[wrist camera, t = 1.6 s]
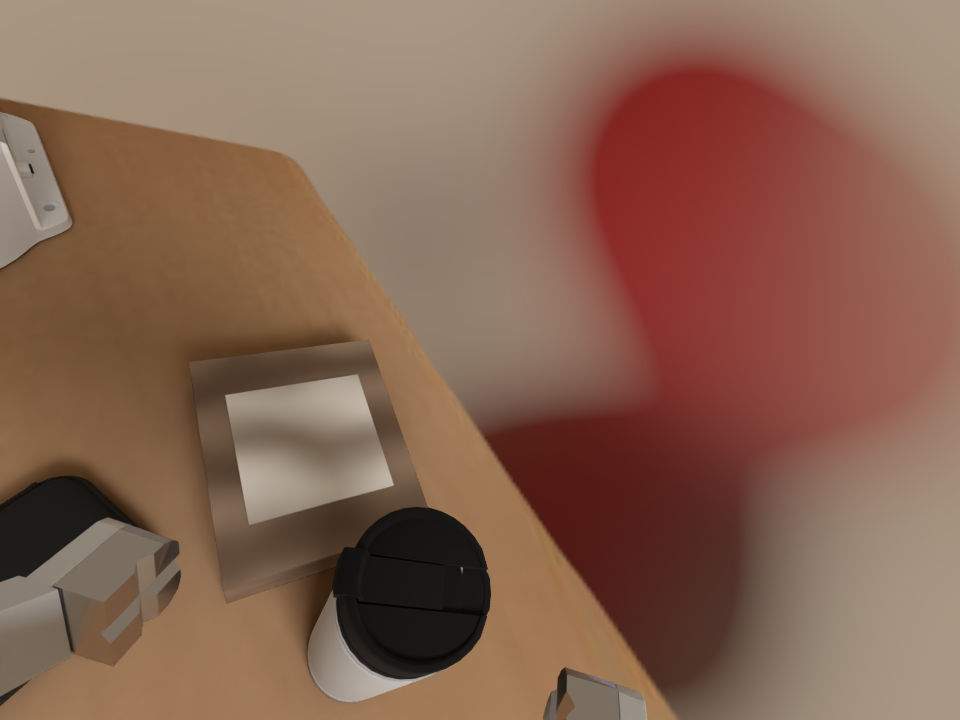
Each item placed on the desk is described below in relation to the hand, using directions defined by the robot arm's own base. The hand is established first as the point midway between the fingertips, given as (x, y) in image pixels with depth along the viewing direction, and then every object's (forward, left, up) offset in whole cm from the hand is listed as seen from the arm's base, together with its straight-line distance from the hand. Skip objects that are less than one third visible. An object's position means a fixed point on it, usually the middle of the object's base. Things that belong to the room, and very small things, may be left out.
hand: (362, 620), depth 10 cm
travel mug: (-2, +4, -29) cm, 29 cm away
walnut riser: (-16, +4, -29) cm, 33 cm away
